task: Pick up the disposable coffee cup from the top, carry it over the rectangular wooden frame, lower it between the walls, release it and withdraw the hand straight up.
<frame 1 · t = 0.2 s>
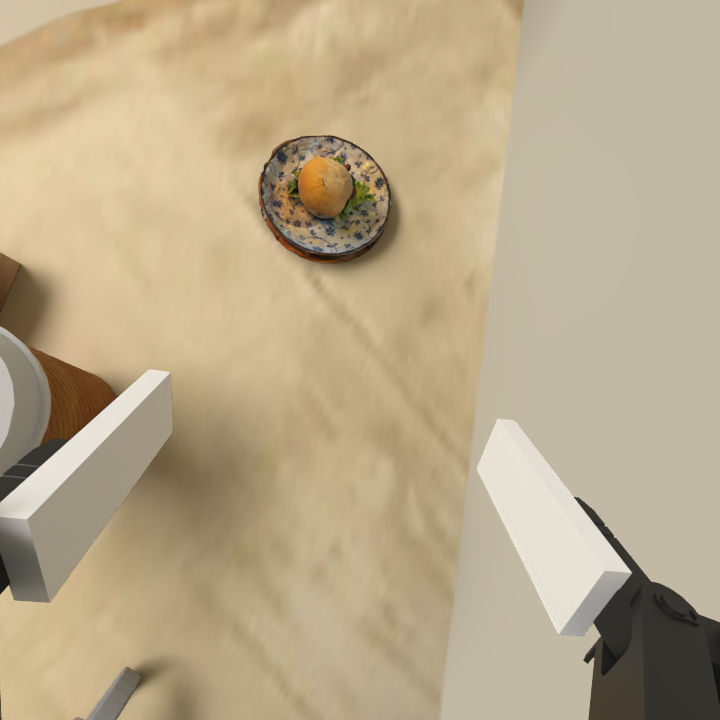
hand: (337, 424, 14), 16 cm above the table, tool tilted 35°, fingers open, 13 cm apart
disposable coffee cup: (72, 412, 27), on the table
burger: (324, 205, 33), on the table
wristwatch: (115, 694, 25), on the table
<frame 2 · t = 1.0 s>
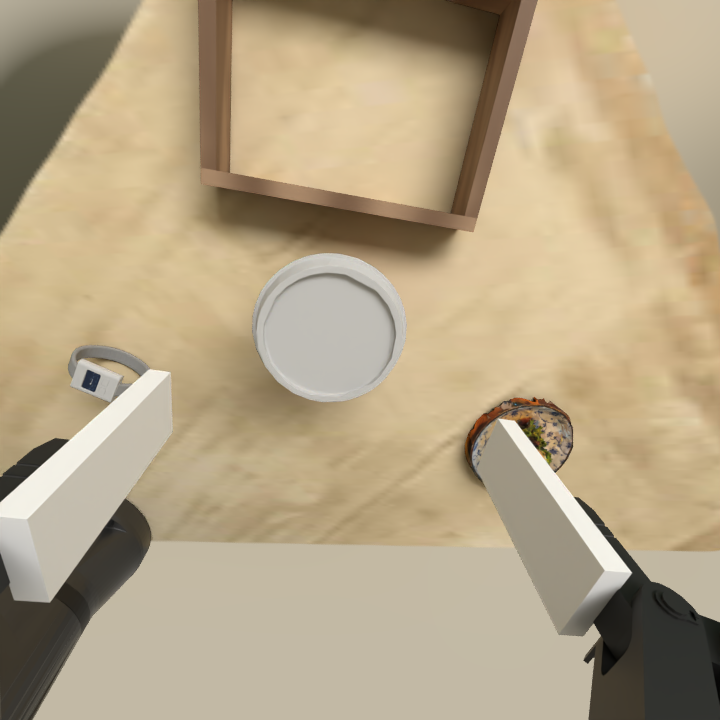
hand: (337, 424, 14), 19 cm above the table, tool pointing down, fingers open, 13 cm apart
rectangular wooden frame: (357, 98, 26), on the table
disposable coffee cup: (331, 291, 32), on the table
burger: (514, 438, 41), on the table
wristwatch: (128, 357, 33), on the table
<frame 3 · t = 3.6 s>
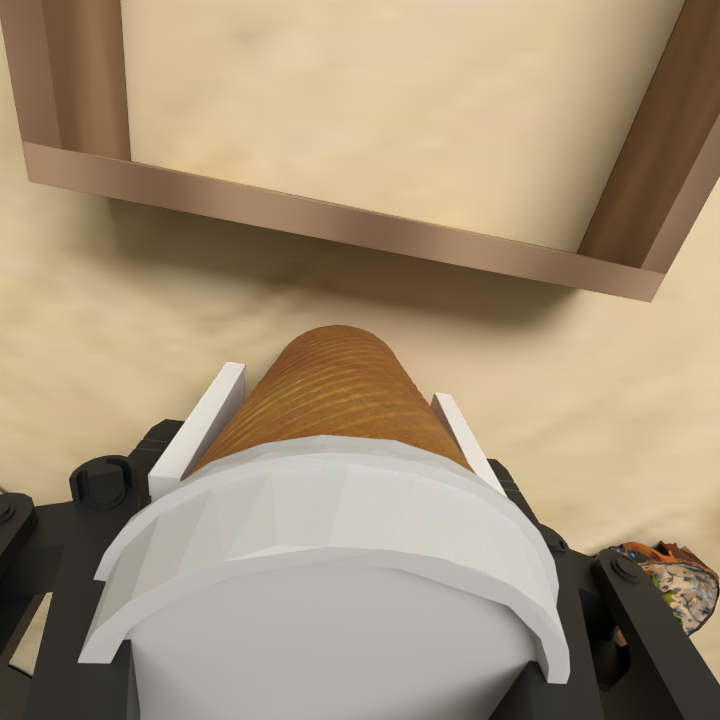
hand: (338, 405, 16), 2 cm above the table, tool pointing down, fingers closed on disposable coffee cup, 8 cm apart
disposable coffee cup: (338, 383, 17), on the table, touching gripper
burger: (613, 589, 26), on the table
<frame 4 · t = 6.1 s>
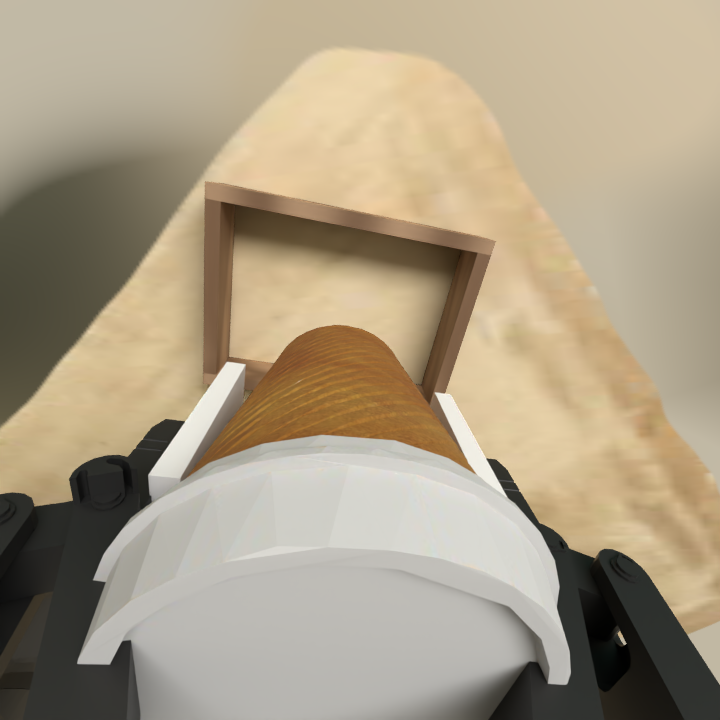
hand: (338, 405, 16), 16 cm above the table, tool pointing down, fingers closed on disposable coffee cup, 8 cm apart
rectangular wooden frame: (339, 304, 30), on the table
disposable coffee cup: (338, 383, 17), point 14 cm above the table, touching gripper
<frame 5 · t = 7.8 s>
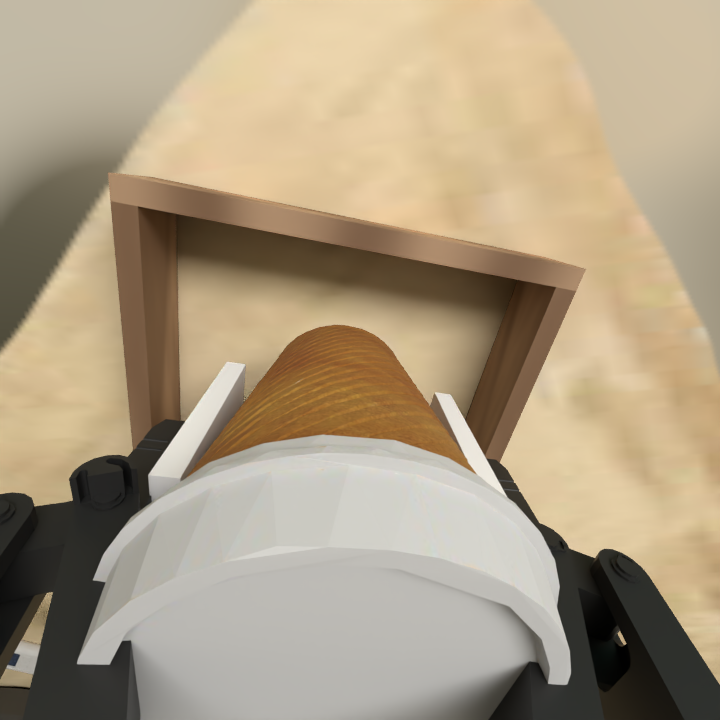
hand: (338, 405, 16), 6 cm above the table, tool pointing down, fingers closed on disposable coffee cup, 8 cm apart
rectangular wooden frame: (338, 354, 21), on the table
disposable coffee cup: (338, 383, 17), point 4 cm above the table, touching gripper
wristwatch: (68, 583, 28), on the table
when the fingers open (4 cm above the table, at t = 9.0 s): disposable coffee cup drops 2 cm, resting in rectangular wooden frame.
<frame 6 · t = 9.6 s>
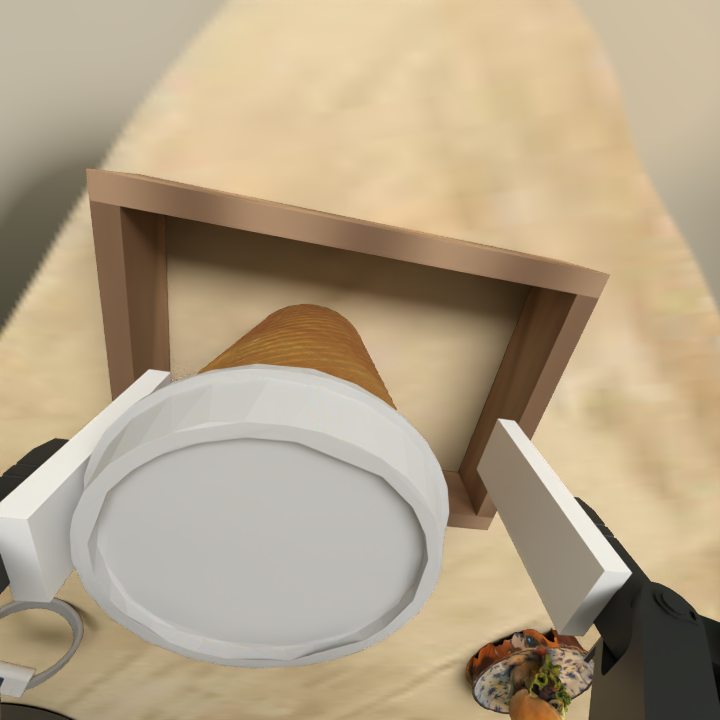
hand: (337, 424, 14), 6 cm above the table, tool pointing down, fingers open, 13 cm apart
rectangular wooden frame: (339, 363, 19), on the table
disposable coffee cup: (308, 358, 19), resting in rectangular wooden frame, touching gripper
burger: (524, 658, 34), on the table
wristwatch: (57, 599, 27), on the table
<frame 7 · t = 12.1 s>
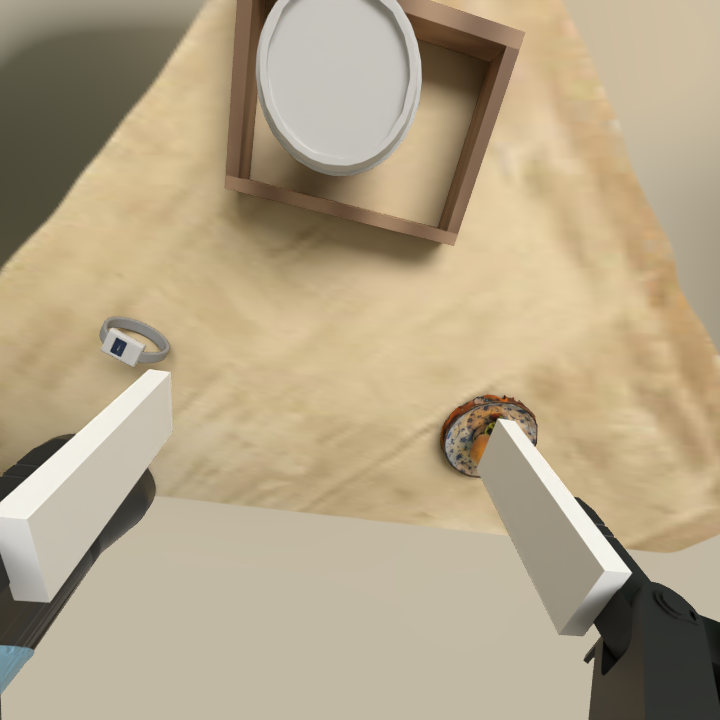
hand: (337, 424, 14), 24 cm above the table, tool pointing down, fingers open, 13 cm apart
rectangular wooden frame: (363, 123, 30), on the table
disposable coffee cup: (343, 119, 30), resting in rectangular wooden frame
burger: (485, 431, 45), on the table
wristwatch: (149, 330, 38), on the table
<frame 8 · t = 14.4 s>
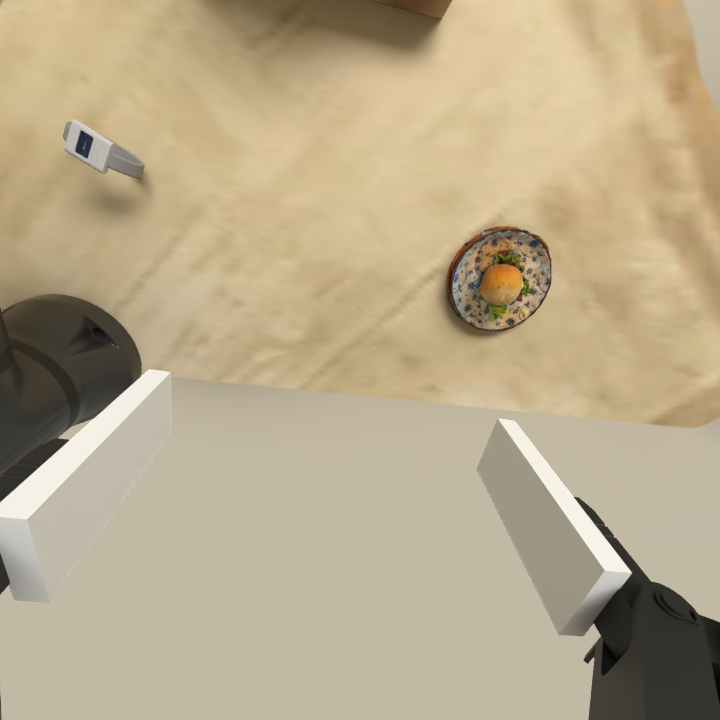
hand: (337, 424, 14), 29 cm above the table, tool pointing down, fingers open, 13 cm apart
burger: (494, 278, 42), on the table
wristwatch: (122, 154, 35), on the table
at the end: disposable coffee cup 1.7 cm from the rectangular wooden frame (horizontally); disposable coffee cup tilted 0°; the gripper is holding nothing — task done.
